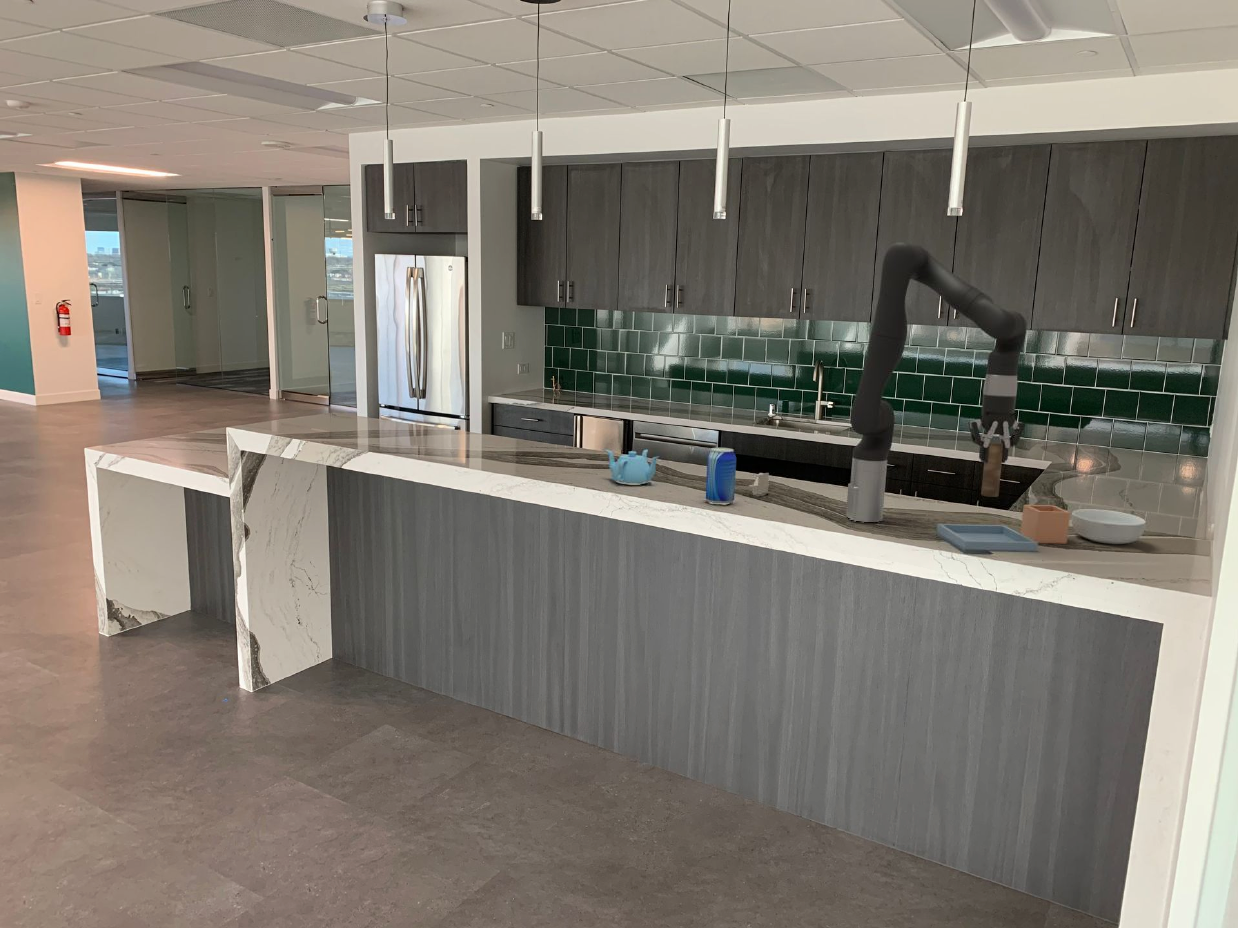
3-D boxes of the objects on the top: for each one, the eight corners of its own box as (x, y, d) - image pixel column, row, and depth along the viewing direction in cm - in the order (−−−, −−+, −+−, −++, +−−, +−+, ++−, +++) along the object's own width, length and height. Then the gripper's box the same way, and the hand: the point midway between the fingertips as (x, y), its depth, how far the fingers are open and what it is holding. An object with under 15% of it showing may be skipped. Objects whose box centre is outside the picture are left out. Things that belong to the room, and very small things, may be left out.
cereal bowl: (1058, 540, 240) (1062, 514, 239) (1082, 531, 252) (1085, 506, 251) (1130, 554, 229) (1133, 526, 227) (1151, 544, 240) (1154, 517, 239)
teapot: (614, 487, 291) (615, 455, 290) (603, 478, 306) (604, 447, 304) (659, 487, 295) (660, 455, 293) (646, 477, 309) (647, 447, 307)
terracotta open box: (1035, 545, 234) (1038, 511, 233) (1020, 537, 242) (1023, 504, 241) (1066, 546, 235) (1070, 512, 233) (1050, 538, 243) (1054, 505, 241)
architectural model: (747, 497, 285) (749, 473, 284) (760, 494, 291) (761, 470, 289) (757, 499, 283) (758, 475, 282) (769, 496, 288) (770, 472, 287)
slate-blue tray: (964, 553, 225) (965, 541, 224) (936, 535, 242) (937, 523, 242) (1036, 554, 225) (1038, 542, 225) (1003, 536, 243) (1004, 525, 243)
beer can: (719, 507, 268) (722, 452, 265) (699, 501, 274) (701, 448, 271) (739, 503, 273) (742, 450, 270) (719, 498, 279) (722, 446, 277)
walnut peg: (985, 496, 230) (990, 444, 227) (978, 493, 233) (983, 442, 231) (1001, 496, 230) (1006, 445, 228) (993, 493, 234) (999, 442, 231)
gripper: (977, 394, 223) (971, 464, 226) (1035, 395, 224) (1028, 465, 227) (965, 391, 231) (958, 459, 234) (1021, 392, 231) (1014, 460, 234)
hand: (992, 461), depth 230 cm, fingers closed on walnut peg, 4 cm apart
